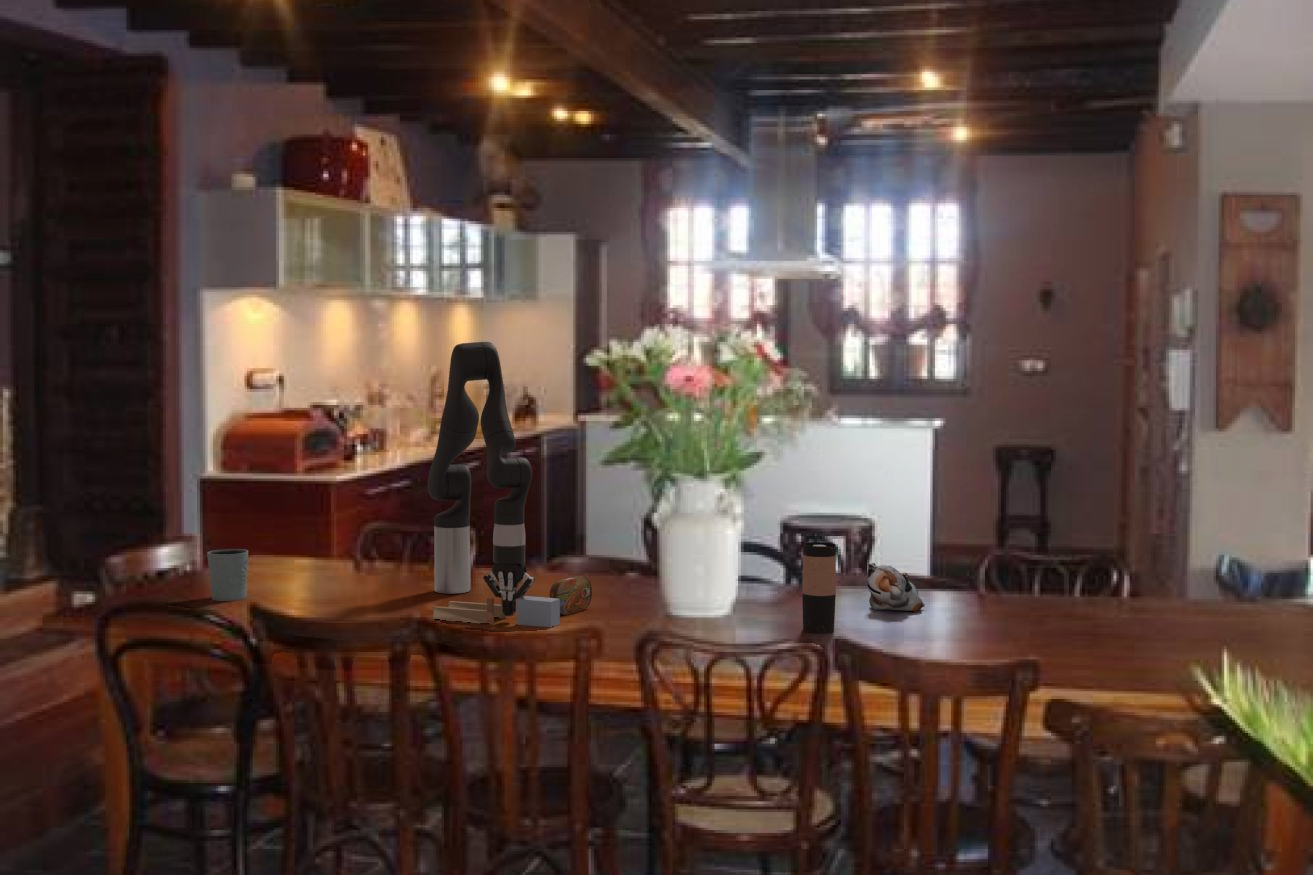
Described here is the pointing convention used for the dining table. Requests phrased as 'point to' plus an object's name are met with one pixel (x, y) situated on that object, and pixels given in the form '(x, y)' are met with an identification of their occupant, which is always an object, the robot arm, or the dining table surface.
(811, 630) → the travel mug
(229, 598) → the grey tapered cup
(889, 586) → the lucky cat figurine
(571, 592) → the tin
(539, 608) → the block
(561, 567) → the dining table surface
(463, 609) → the chute
